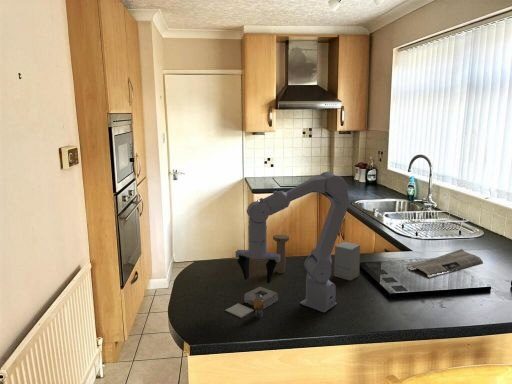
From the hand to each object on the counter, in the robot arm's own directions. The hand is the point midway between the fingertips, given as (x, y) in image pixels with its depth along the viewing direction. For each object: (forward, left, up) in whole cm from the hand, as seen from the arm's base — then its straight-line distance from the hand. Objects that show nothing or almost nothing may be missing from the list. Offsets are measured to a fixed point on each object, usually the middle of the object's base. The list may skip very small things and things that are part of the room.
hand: (257, 280), depth 126 cm
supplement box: (-8, -44, -10) cm, 46 cm away
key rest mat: (+4, +5, -10) cm, 12 cm away
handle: (+14, -30, -10) cm, 34 cm away
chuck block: (+3, -5, -10) cm, 11 cm away
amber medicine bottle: (-3, +3, -10) cm, 11 cm away
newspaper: (-34, -81, -11) cm, 88 cm away
